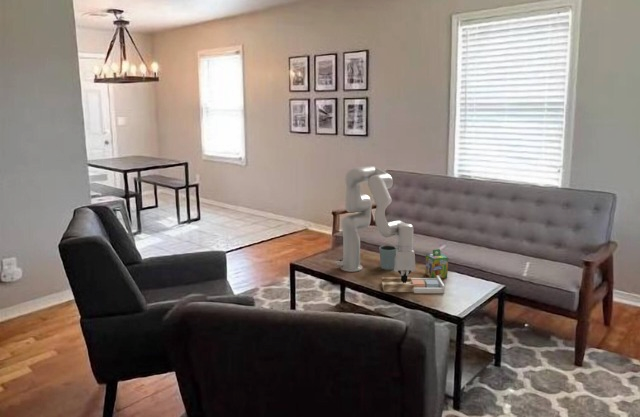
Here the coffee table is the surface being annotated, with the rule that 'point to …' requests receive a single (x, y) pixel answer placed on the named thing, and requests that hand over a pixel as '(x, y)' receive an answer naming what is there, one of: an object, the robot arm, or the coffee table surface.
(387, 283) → the wooden tray
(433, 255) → the chalk box
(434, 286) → the tile
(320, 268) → the coffee table surface
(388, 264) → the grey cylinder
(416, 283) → the tile
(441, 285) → the white u-shaped bracket
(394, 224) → the robot arm
